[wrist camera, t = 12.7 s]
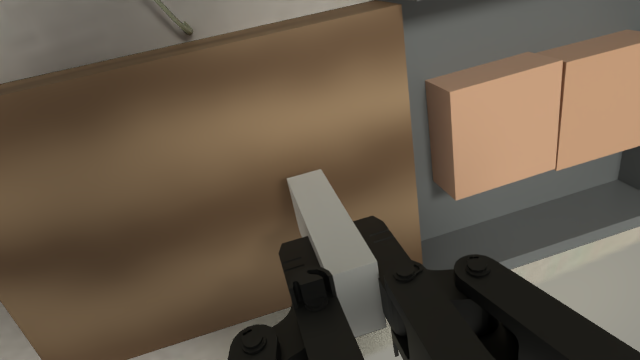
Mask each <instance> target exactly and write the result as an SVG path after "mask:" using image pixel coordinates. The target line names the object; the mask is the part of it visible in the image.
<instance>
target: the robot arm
mask: <svg viewBox="0 0 640 360" xmlns="http://www.w3.org/2000/svg"><path fill="white" fill-rule="evenodd" d="M287 182H288V186H289V190H290V194H291V198H292V202H293V207H294V211H295V215H296V219H297V223H298V227H299V231H300V234H301V236H302V238H299V239H295V240H292V241H289V242H285V243H282V244H281V247H280V250H279V253H278V254H279V257H280V261H281V264H282V268H283V272H284V275H285V279H286V282H287V286H288V289H289V293H290V297H291V301H292V306H291V310H290V311H289V313H288V315H287V316H286V317H285V318H284V319H283V320H282V321H281V322H279V323H278V324H277V325H275V326H273V327H269V326H267V325H257V324H256V325H253V326H250V327H247V328H245V329H244V330H242V331H241V332H239V333H238V334H237V336H236V337H235V338H234V339H233V341H232V344H231V346H230V351H229V356H228V360H364V358H363V356H362V353H361V351H360V349H359V346H358V344H357V342H356V339H355V338H356V337H359V336H362V335H365V334H368V333H371V332H374V331H377V330H380V329H383V328H386V327H387V326H386V319H387V321H388V322H389V324H390V326H391V333H392V340H393V347H394V353H395V357H396V356H398V355H399V354H398V350H399V352H400V354H401V356H402V358H403V360H640V352H638V351H637V350H635V349H633V348H632V347H630V346H629V345H627V344H626V343H624V342H622V341H620V340H619V339H618V338H616V337H615V336H613V335H611V334H610V333H608V332H607V331H605V330H604V329H602V328H601V327H599V326H597V325H596V324H594V323H593V322H591V321H589V320H588V319H586V318H585V317H583V316H582V315H580V314H579V313H577V312H575V311H574V310H572V309H571V308H569V307H568V306H566V305H564V304H563V303H561V302H560V301H558V300H557V299H555V298H554V297H552V296H550V295H549V294H547V293H546V292H544V291H543V290H541V289H539V288H538V287H536V286H535V285H533V284H532V283H530V282H528V281H527V280H525V279H524V278H522V277H521V276H519V275H517V274H516V273H514V272H513V271H511V270H510V269H508V268H506V267H505V266H503V265H502V264H500V263H499V262H497V261H495V260H494V259H492V258H490V257H487V256H484V255H479V254H473V255H466V256H464V257H461V258H460V259H458V260H457V261H456V262H455V265H454V269H449V270H429V269H426V268H425V267H424V266H423V265H422V264H421V263H419V262H416V261H413V260H411V259H410V257H409V256H408V255H407V253H406V252H405V251H404V249H403V248H402V246H401V245H400V244H399V242H398V241H397V240H396V238H395V237H394V235H393V234H392V233H391V231H389V229H388V227H387V226H386V225H385V223H384V222H383V221H382V220H380V219H378V218H376V217H374V216H369V217H366V218H362V219H359V220H356V221H352V219H351V218H350V216H349V214H348V213H347V211H346V209H345V208H344V206H343V204H342V203H341V201H340V199H339V198H338V196H337V195H336V193H335V191H334V190H333V188H332V186H331V185H330V183H329V181H328V180H327V178H326V177H325V175H324V173H323V172H322V170H321V169H319V170H315V171H312V172H308V173H305V174H301V175H297V176H294V177H290V178H287ZM385 317H386V319H385Z"/></svg>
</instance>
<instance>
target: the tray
mask: <svg viewBox="0 0 640 360" xmlns="http://www.w3.org/2000/svg"><path fill="white" fill-rule="evenodd" d="M378 1H384V2H391V3H397V4H401V5H402V17H403V30H404V42H405V54H406V66H407V78H408V90H409V102H410V115H411V127H412V139H413V151H414V163H415V175H416V187H417V200H418V212H419V224H420V236H421V248H422V260H423V264H422V265H423V266H424V267H425V268H426V269H429V270H449V269H454V265H455V262H456V261H457V260H458V259H460V258H461V257H464V256H466V255H473V254H479V255H484V256H487V257H490V258H492V259H494V260H495V261H497V262H499V263H500V264H502V265H503V266H505V267H506V268H508V269H510V270H511V269H514V268H517V267H520V266H523V265H526V264H529V263H532V262H535V261H538V260H541V259H544V258H547V257H550V256H553V255H556V254H559V253H562V252H565V251H568V250H570V249H573V248H576V247H579V246H582V245H585V244H588V243H591V242H594V241H597V240H600V239H603V238H606V237H609V236H612V235H615V234H618V233H621V232H624V231H627V230H630V229H633V228H636V227H639V226H640V146H638V147H634V148H631V149H628V150H624V151H621V152H618V153H614V154H611V155H608V156H604V157H601V158H598V159H595V160H591V161H588V162H585V163H581V164H578V165H575V166H571V167H568V168H565V169H561V170H558V171H556V170H554V169H553V170H550V171H547V172H544V173H540V174H537V175H534V176H531V177H528V178H525V179H522V180H519V181H516V182H512V183H509V184H506V185H503V186H500V187H497V188H494V189H491V190H488V191H484V192H481V193H478V194H475V195H472V196H469V197H466V198H463V199H460V200H454V199H453V198H452V197H451V196H450V195H449V194H448V193H447V192H445V191H444V190H443V189H442V188H441V187H440V186H439V185H437V184H436V183H435V182H434V181H433V172H432V159H431V147H430V135H429V123H428V110H427V98H426V86H425V80H428V79H432V78H435V77H439V76H442V75H446V74H450V73H453V72H457V71H460V70H464V69H468V68H471V67H475V66H478V65H482V64H486V63H489V62H493V61H497V60H500V59H504V58H507V57H511V56H515V55H518V54H522V53H525V52H532V53H537V52H541V51H545V50H549V49H553V48H557V47H561V46H565V45H569V44H572V43H576V42H580V41H584V40H588V39H592V38H596V37H600V36H604V35H608V34H612V33H616V32H619V31H623V30H634V31H640V0H378Z"/></svg>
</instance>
